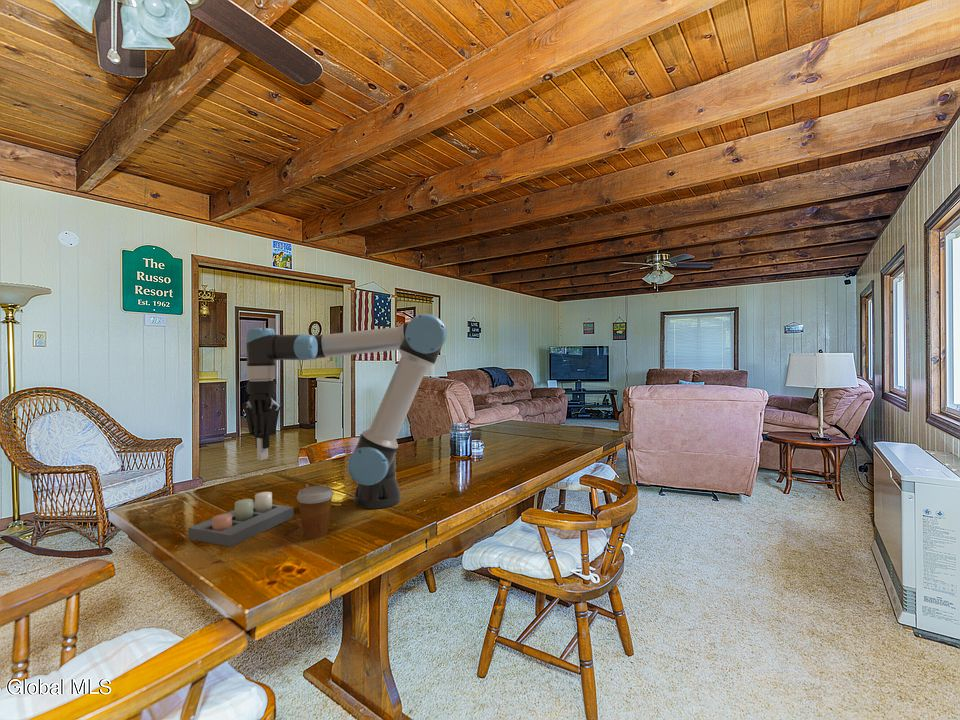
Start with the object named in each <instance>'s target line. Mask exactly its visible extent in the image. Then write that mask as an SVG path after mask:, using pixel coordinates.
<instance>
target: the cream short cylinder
mask: <svg viewBox="0 0 960 720" xmlns="http://www.w3.org/2000/svg"><path fill="white" fill-rule="evenodd" d="M254 502H255V512H260V513H265V512H267V511H269V510H272V504H273V492H272V491H260V492H257V493H256V494H254Z"/></svg>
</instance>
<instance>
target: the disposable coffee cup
mask: <svg viewBox="0 0 960 720" xmlns="http://www.w3.org/2000/svg"><path fill="white" fill-rule="evenodd" d="M303 488H304V487H303ZM301 489H302V488H301ZM301 489H299V490H298V493H297V495H296V501H297V500H298V501H297V503H298V502H299V503H298V507H299V514H300V520H301V528H302V535H303V537H304V538H305V539H310V540H311V539H319V538H322V537H325V536H326V535H327V534H328V532H329V526H330V525H329V524H330V516H331V508H332V499H333V496H334V493H335V492H333V490H332V489H333V488H332V487H331V486H327V485H314V486H310V487H307V488H304V489H302V490H301Z"/></svg>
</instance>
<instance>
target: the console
mask: <svg viewBox="0 0 960 720" xmlns="http://www.w3.org/2000/svg"><path fill="white" fill-rule="evenodd" d="M224 514H232V527H229V528H227V529H225V530H222V531H217V530H213V528H212V518H210V519H207V520H204V521H202V522H200V523H199V522H198V523H197V524H194V525H192V526H190V527H188V528H187V529H188V530H187V531H188V540H192V539H193V540H192V541H198V542H203V543H209V544H214V545H218V546H224V547H228V548H231V547H234V546H236V545H237V544H240V543H243V542H244V541H246V540H249V539H250V538H252V537H254V536H257V535H258V534H261V533H264V532H265V531H267V530H269V529H271V528H273V527H276V526H277V525H279V524H282V523H283V522H287V521H289V520H290V519H293V518H294V507H293V506H288V505H280V504H276V503H275V504H274V503H272V510H269V511H267V512H265V513H260V512H255V501H253V518H251V519H248V520H246V521H244V522H243V521H237V520H235V509H234V510H230V511H228V512H225V513H224Z"/></svg>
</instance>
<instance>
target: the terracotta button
mask: <svg viewBox="0 0 960 720" xmlns="http://www.w3.org/2000/svg"><path fill="white" fill-rule="evenodd" d="M211 519H212V528H213V530H217V531H222V530H225V529H227V528H229V527H232V514H225V513H220V514H216V515H214V516H212V518H211Z"/></svg>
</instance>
